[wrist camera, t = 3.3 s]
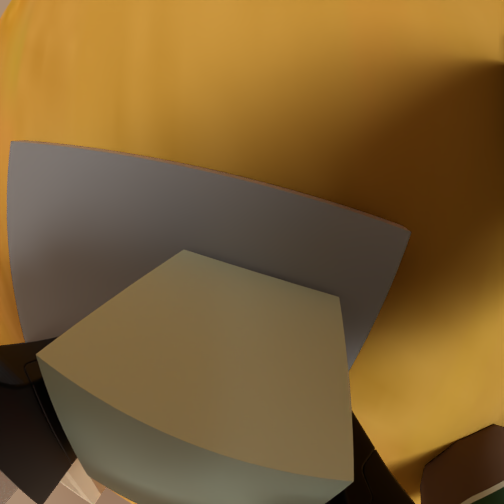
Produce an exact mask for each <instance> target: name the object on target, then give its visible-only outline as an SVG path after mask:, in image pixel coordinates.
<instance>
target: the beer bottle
mask: <svg viewBox="0 0 504 504" xmlns="http://www.w3.org/2000/svg"><path fill="white" fill-rule="evenodd" d="M420 493H421V504H504V427H502V426H498V425H495V424H493V425H491V426H489V427H487V428H485V429H483V430H481V431H479V432H477V433H475V434H472V435H470V436H468V437H465V438H463V439H461V440H458V441H456V442H455V443H454V444H453V445H451V446H450V447H449V448H448V449H447V450H445V451H444V452H443V453H441V454H440V455H439V456H437V457H436V458H435V459H433V460H432V461H431V462H429V463H428V464H427V465H425V468H424V471H423V476H422V480H421V484H420Z"/></svg>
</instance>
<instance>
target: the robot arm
mask: <svg viewBox="0 0 504 504" xmlns="http://www.w3.org/2000/svg"><path fill="white" fill-rule="evenodd" d="M58 337H59V336H58ZM58 337H54V338H49V339H44V340H39V341H33V342H27V343H19V344H10V345H1V346H0V504H5V503H6V502H7V501H8V500H9V499H10V497H11V496H12V495H13V494H14V493H15V491H16V490H17V489H18V488H19V489H21V490H22V491H23V492H24V493H25V494H26V495H27V496H29V497H30V498H31V499H32V500H33V501H35V502H36V503H37V504H43V503H44V502H45V501H46V500H47V498H48V497H49V495H50V494H51V493H52V491H53V490H54V489H55V487H56V486H57V485H58V483H59V482H60V481H61V479H62V478H63V477H64V475H65V474H66V473H67V471H68V470H69V469H70V467H71V466H72V465H71V464H73V463H74V462H75V460H76V459H77V456H76V454H75V452H74V450H73V448H72V446H71V444H70V442H69V440H68V438H67V436H66V434H65V432H64V430H63V428H62V425H61V423H60V421H59V419H58V416H57V414H56V411H55V409H54V407H53V404H52V402H51V399H50V396H49V394H48V391H47V388H46V385H45V382H44V380H43V377H42V373H41V370H40V367H39V364H38V361H37V357H36V354H37V353H38V352H39V351H41V350H42V349H43V348H45V347H46V346H47V345H49V344H50V343H51V342H53V341H54V340H55V339H57V338H58ZM352 428H353V458H354V481H353V482H352V483H351V484H350V485H349V486H347V487H346V488H345V489H344V490H342V491H341V492H340V493H339V494H337V495H336V496H335V497H333V498H332V499H331V500H329V501H328V502H327V503H325V504H415V503H414V502H413V500H412V499H411V498H410V497H409V495H408V494H407V493H406V492H405V490H404V489H403V488H402V487H401V485H400V484H399V483H398V481H397V480H396V479H395V477H394V476H393V475H392V473H391V472H390V471H389V469H388V468H387V466H386V465H385V463H384V462H383V460H382V459H381V457H380V455H379V454H378V452H377V450H374V449H375V447H374V446H373V444H372V442H371V441H370V439H369V438H368V436H367V434H366V433H365V431H364V429H363V428H362V426H361V424H360V423H359V421H358V420H357V418H356V416H355V415H354V413H353V411H352Z"/></svg>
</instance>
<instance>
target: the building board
mask: <svg viewBox="0 0 504 504" xmlns="http://www.w3.org/2000/svg"><path fill="white" fill-rule="evenodd" d="M7 230H8V246H9V257H10V266H11V274H12V281H13V288H14V294H15V299H16V305H17V310H18V314H19V319H20V323H21V327H22V332H23V335H24V339H25V343H27V342H33V341H39V340H44V339H49V338H54V337H58V336H61V335H62V334H63V333H65V332H66V331H67V330H69V329H70V328H71V327H73V326H74V325H75V324H77V323H78V322H80V321H81V320H82V319H84V318H85V317H86V316H88V315H89V314H91V313H92V312H93V311H95V310H96V309H97V308H99V307H100V306H102V305H103V304H105V303H106V302H107V301H109V300H110V299H112V298H113V297H114V296H116V295H117V294H119V293H120V292H122V291H123V290H124V289H126V288H127V287H129V286H130V285H132V284H133V283H135V282H136V281H137V280H139V279H140V278H142V277H143V276H145V275H146V274H148V273H149V272H151V271H152V270H154V269H155V268H157V267H158V266H160V265H161V264H163V263H164V262H166V261H167V260H168V259H170V258H172V257H173V256H175V255H176V254H178V253H179V252H181V251H182V250H187V251H191V252H194V253H197V254H200V255H203V256H206V257H209V258H213V259H216V260H219V261H222V262H225V263H229V264H232V265H235V266H238V267H241V268H245V269H248V270H251V271H254V272H258V273H261V274H264V275H267V276H271V277H274V278H277V279H281V280H284V281H287V282H290V283H294V284H297V285H300V286H304V287H307V288H311V289H314V290H317V291H321V292H324V293H327V294H331V295H334V296H338V297H339V299H340V306H341V313H342V320H343V328H344V336H345V344H346V353H347V362H348V372H349V370H350V368H351V366H352V364H353V363H354V361H355V359H356V357H357V355H358V353H359V352H360V350H361V348H362V346H363V344H364V342H365V340H366V338H367V336H368V334H369V332H370V330H371V328H372V326H373V324H374V322H375V320H376V318H377V316H378V314H379V311H380V309H381V307H382V305H383V303H384V300H385V298H386V296H387V294H388V291H389V289H390V287H391V284H392V282H393V280H394V277H395V275H396V272H397V270H398V267H399V265H400V262H401V259H402V257H403V254H404V252H405V249H406V246H407V243H408V240H409V238H410V235H411V231H409V230H408V229H406V228H405V227H404V226H402V225H400V224H397V223H394V222H391V221H389V220H386V219H383V218H380V217H377V216H374V215H371V214H368V213H365V212H362V211H359V210H356V209H353V208H350V207H347V206H344V205H341V204H338V203H334V202H331V201H328V200H325V199H321V198H318V197H315V196H311V195H308V194H305V193H301V192H298V191H294V190H290V189H287V188H283V187H280V186H276V185H272V184H268V183H265V182H261V181H257V180H253V179H249V178H245V177H241V176H237V175H233V174H229V173H224V172H220V171H216V170H211V169H207V168H202V167H198V166H193V165H188V164H184V163H179V162H174V161H169V160H163V159H158V158H153V157H147V156H142V155H136V154H130V153H124V152H118V151H111V150H105V149H98V148H90V147H83V146H75V145H67V144H58V143H48V142H37V141H25V140H24V141H11V146H10V155H9V166H8V181H7ZM71 465H72V466H71V467H70V469H69V470H68V471H67V473H66V474H65V475H64V477H63V478H62V479H61V481H60V483H62V484H63V485H64V486H66V487H67V488H68V489H70V490H71V491H73V492H74V493H76V494H77V495H79V496H80V497H82V498H83V499H85V500H86V501H88V502H89V503H91V504H95V503H96V501H97V500H98V498H99V497H100V495H101V494H102V492H103V491H104V490H105V488H106V486H104V485H102V484H101V483H99V482H97V481H96V480H94V479H92V478H91V477H89V476H88V475H87V474H86V472H85V470H84V469H83V467H82V465H81V463H80V461H79V460H78V458H77V459H76V460H75V462H74V463H73V464H71Z"/></svg>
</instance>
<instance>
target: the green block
mask: <svg viewBox="0 0 504 504" xmlns="http://www.w3.org/2000/svg"><path fill="white" fill-rule="evenodd" d="M36 357H37V361H38V364H39V367H40V370H41V373H42V377H43V380H44V382H45V385H46V388H47V391H48V394H49V396H50V399H51V402H52V404H53V407H54V409H55V411H56V414H57V416H58V419H59V421H60V423H61V425H62V428H63V430H64V432H65V434H66V436H67V438H68V440H69V442H70V444H71V446H72V448H73V450H74V452H75V454H76V456H77V458H78V460H79V461H80V463H81V465H82V467H83V469H84V470H85V472H86V474H87V475H88V476H89V477H91V478H92V479H94V480H96V481H97V482H99V483H101V484H102V485H104V486H106V487H107V488H109V489H111V490H113V491H114V492H116V493H118V494H120V495H122V496H124V497H125V498H127V499H129V500H131V501H133V502H135V503H137V504H325V503H327V502H328V501H329V500H331V499H332V498H333V497H335V496H336V495H337V494H339V493H340V492H341V491H342V490H344V489H345V488H346V487H347V486H349V485H350V484H351V483H352V482H353V481H354V458H353V428H352V410H351V396H350V383H349V372H348V362H347V353H346V344H345V336H344V328H343V320H342V313H341V306H340V299H339V297H338V296H334V295H331V294H327V293H324V292H321V291H317V290H314V289H311V288H307V287H304V286H300V285H297V284H294V283H290V282H287V281H284V280H281V279H277V278H274V277H271V276H267V275H264V274H261V273H258V272H254V271H251V270H248V269H245V268H241V267H238V266H235V265H232V264H229V263H225V262H222V261H219V260H216V259H213V258H209V257H206V256H203V255H200V254H197V253H194V252H191V251H187V250H182V251H181V252H179V253H178V254H176V255H175V256H173V257H172V258H170V259H168V260H167V261H166V262H164V263H163V264H161V265H160V266H158V267H157V268H155V269H154V270H152V271H151V272H149V273H148V274H146V275H145V276H143V277H142V278H140V279H139V280H137V281H136V282H135V283H133V284H132V285H130V286H129V287H127V288H126V289H124V290H123V291H122V292H120V293H119V294H117V295H116V296H114V297H113V298H112V299H110V300H109V301H107V302H106V303H105V304H103V305H102V306H100V307H99V308H97V309H96V310H95V311H93V312H92V313H91V314H89V315H88V316H86V317H85V318H84V319H82V320H81V321H80V322H78V323H77V324H75V325H74V326H73V327H71V328H70V329H69V330H67V331H66V332H65V333H63V334H62V335H61V336H59V337H58V338H57V339H55V340H54V341H53V342H51V343H50V344H49V345H47V346H46V347H45V348H43V349H42V350H41V351H39V352H38V353H37V354H36Z"/></svg>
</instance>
